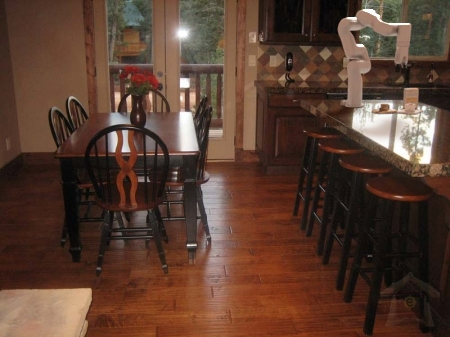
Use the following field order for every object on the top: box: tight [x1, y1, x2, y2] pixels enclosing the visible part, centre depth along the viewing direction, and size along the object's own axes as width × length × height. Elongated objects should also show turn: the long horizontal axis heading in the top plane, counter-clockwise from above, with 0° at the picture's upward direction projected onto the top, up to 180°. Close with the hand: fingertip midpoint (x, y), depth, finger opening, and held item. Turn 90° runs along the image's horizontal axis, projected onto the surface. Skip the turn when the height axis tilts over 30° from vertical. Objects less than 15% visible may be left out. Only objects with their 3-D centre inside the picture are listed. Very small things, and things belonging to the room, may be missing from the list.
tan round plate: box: [371, 103, 398, 115], centre depth 293 cm, size 15×15×5 cm
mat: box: [396, 108, 424, 115], centre depth 288 cm, size 12×12×1 cm
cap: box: [405, 103, 416, 112], centre depth 287 cm, size 6×6×5 cm
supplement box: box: [402, 87, 420, 109], centre depth 301 cm, size 8×5×13 cm, turn 84°
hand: (400, 73), depth 287 cm, fingers open, 9 cm apart
